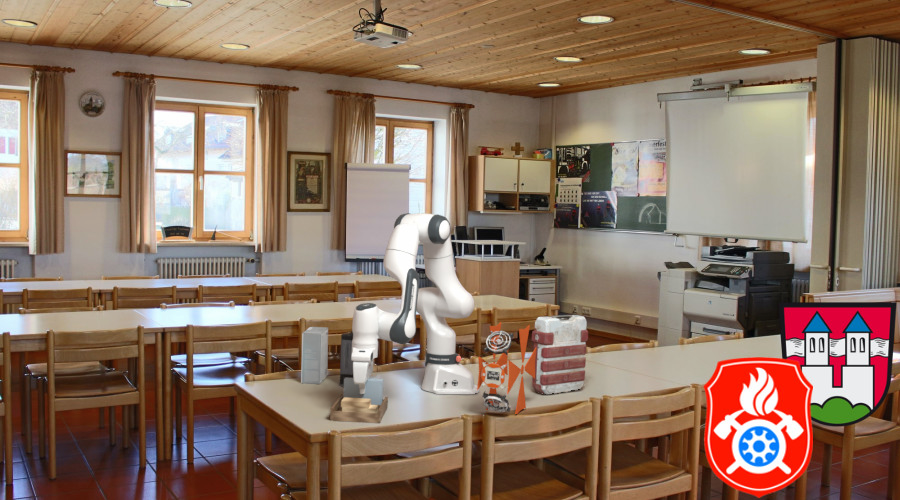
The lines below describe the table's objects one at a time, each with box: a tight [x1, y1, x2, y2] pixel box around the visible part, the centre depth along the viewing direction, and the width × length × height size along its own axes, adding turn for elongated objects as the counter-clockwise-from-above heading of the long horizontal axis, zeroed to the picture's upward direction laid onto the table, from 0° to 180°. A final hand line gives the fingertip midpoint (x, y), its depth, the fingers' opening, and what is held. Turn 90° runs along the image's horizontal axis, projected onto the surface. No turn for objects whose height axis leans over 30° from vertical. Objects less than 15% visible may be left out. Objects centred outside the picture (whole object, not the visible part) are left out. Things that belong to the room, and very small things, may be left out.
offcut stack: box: [339, 397, 378, 413], centre depth 259 cm, size 13×5×6 cm, turn 87°
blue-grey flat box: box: [343, 378, 384, 405], centre depth 269 cm, size 13×3×9 cm, turn 87°
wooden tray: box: [329, 393, 389, 424], centre depth 263 cm, size 16×19×4 cm
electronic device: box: [339, 331, 353, 387], centre depth 307 cm, size 9×6×20 cm, turn 168°
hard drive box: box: [300, 326, 329, 385], centre depth 312 cm, size 16×8×20 cm, turn 178°
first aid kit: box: [531, 314, 589, 395], centre depth 309 cm, size 23×8×30 cm, turn 126°
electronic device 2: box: [477, 321, 537, 415], centre depth 276 cm, size 11×30×30 cm, turn 156°
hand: (363, 391), depth 269 cm, fingers closed on blue-grey flat box, 3 cm apart
